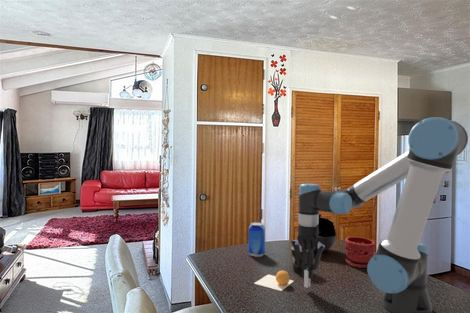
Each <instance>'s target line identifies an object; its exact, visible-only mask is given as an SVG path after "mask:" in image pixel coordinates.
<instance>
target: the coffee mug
mask: <svg viewBox="0 0 470 313" xmlns="http://www.w3.org/2000/svg"><path fill="white" fill-rule="evenodd" d="M299 248H300V253H301V258H302V247H301V245H299ZM290 250H291V260H292V271H293V273H296V274H300V275H302V268H301V267H298V266H297V261H296V256H295V251H294V247H293V246H292V247H290ZM307 268H308V250H307Z"/></svg>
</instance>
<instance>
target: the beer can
mask: <svg viewBox="0 0 470 313" xmlns="http://www.w3.org/2000/svg"><path fill="white" fill-rule="evenodd" d="M265 252H266V228H265V226H264V223H262V222H259V221H258V222H257V221H255V222H251V223H250V225H249V227H248V254H249V256H251V257H253V256H254V257H255V258H261V257H264V254H266V253H265Z"/></svg>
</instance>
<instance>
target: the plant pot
mask: <svg viewBox="0 0 470 313" xmlns="http://www.w3.org/2000/svg"><path fill="white" fill-rule="evenodd" d="M344 243H345V245H344V248H345V249H344V250H345V254H346V258H345V262H346V263H347V264H348V265H349V266H352V267H354V268H361V269H366V268H367V266H368V263H369V261H370V260H371V258H372V257H373V256H374V255H375V247H376V244H375V241H374V240H372V239H369V238H366V237H363V236H362V237H361V236H360V237H359V236H348V237H346V238H345V242H344Z"/></svg>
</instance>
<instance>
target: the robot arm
mask: <svg viewBox="0 0 470 313" xmlns="http://www.w3.org/2000/svg"><path fill="white" fill-rule="evenodd" d="M407 140H408V145H409V149H408V150H407V151H405V152H403V153H402V154H400V155H398V156H397V157H395V158H394V159H392V160H390V161H389V162H387V163H386V164H384V165H382V166H381V167H380V168H378V169H377V170H376V169H375V171H373V172H372V173H370V174H368V175H366V176H365V177H364V178H362V179H360V180H358V181H357V182H355V183H354V184H353V185H350V186H349V187H348V188H345V189H340V190H335V191H333V190H321V188H320V185H319V184H316V183H301V184H300V185H299V189H298V190H299V191H298V226H297V228H298V229H297V230H298V231H297V233H298V235H297V237H296V239H293V240H291V242H290V243H291V244H292V247H294V251H295V256H296V261H297V266H298V267H301V268H302V274H301V277H302V278H303V287H304V288H305V289H306V288H307V289H309V288H310V287H311V280H312V279H313V277H314V271H316V270H317V269H318V268H319V265H320V262H321V258H322V253H323V252H324V251H323V249H324V248H325V245H324V244H323V245H322V244H321V243H320V242H319V238H318V230H319V227H318V224H319V214H320V213H319V212H325V213H330V214H331V213H332V214H336V215H348V214H349V213H350V211H351V210H352V209H353V210H354V209H357V208H359V207H361V206H362V205H363V204H364V203H366V202H367V201H369V200H370V199H372V198H375V197H376V196H378V195H380V194H381V193H383V192H385V191H387V190H388V189H390V188H392V187H394V186H395V185H397V184H399V183H401V182H403V181H404V184H403V188H402V190H401V193H400V195H399V200H398V201H397V202H398V203H397V205H396V209H395V212H394V214H393V217H392V221H391V224H390V227H389V229H388V233H387V236H386V237H384V238H382V239H381V240H379V243H378V244H379V245H378V247H377V250H376V253H375V254H374V255H373V257H372V258H371V260H370V261H369V263H368V266H367V274H368V277H369V279H370V280H371V282H372V284H373V285H374V286H375V287H376V288H377V289H379V290H380V291H382V292H383V295H382V303H381V304H382V307H383V308H385V309H386V310H387V311H389V312H390V313H433V305H432V301H431V299H430V295H429V293H428V288H427V285H428V283H427V282H428V256H429V253H428V247H427V245H426V244H425V243H422V242H420V241H421V238H422V236H423V232H424V229H425V227H426V224H427V221H428V218H429V215H430V212H431V209H432V207H433V204H434V201H435V198H436V195H437V193H438V189H439V186H440V184H441V181H442V178H443V175H444V174H445V173H448V172H450V171H452V168H453V166H454V163H455V160H456V157H457V156H458V155H460V154H462V153H463V151H464V150H465V149H466V148H467V145H468V143H469V135H468V132H467V130H466V128H465V127H464V126H463V125H461V124H460V123H459V122H457V121H453V120H450V119H449V118H445V117H441V116H440V117H438V116H435V117H434V116H433V117H431V116H430V117H427V118H423V119H422V120H420V121H418V122H416V123H415V125H413V126H412V128H411V129H410V131H409V133H408V139H407ZM317 245H318V251H317V252H316V254H314V253H315V252H314V248H315V247H316V246H317ZM299 246H301V247H302V258H301V253H300V248H299ZM307 250H308V268H307ZM322 251H323V252H322Z"/></svg>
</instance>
